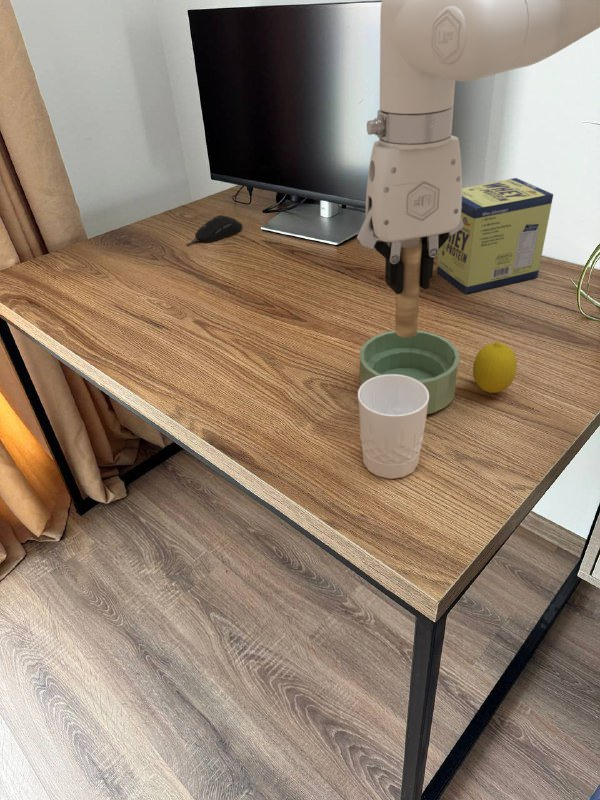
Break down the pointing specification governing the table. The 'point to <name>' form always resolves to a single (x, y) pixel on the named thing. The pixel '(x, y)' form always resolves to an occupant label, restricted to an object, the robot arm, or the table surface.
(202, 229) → the gaming mouse
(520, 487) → the table surface
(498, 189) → the protein box
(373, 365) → the bowl
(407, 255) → the stick
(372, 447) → the white cup
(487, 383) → the lemon
